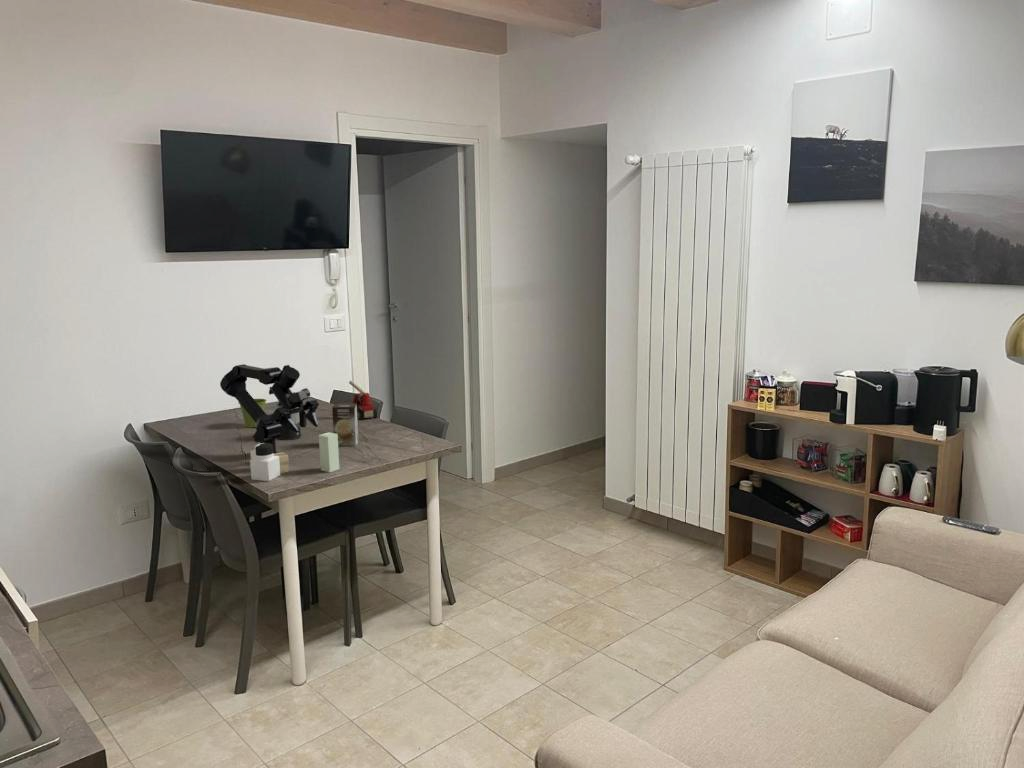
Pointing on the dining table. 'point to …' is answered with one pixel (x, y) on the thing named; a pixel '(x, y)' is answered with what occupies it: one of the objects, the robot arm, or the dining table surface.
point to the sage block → (329, 452)
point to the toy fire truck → (363, 404)
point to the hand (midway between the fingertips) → (307, 429)
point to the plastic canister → (252, 454)
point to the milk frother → (298, 420)
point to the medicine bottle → (264, 463)
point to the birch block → (283, 462)
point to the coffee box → (345, 424)
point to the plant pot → (247, 418)
